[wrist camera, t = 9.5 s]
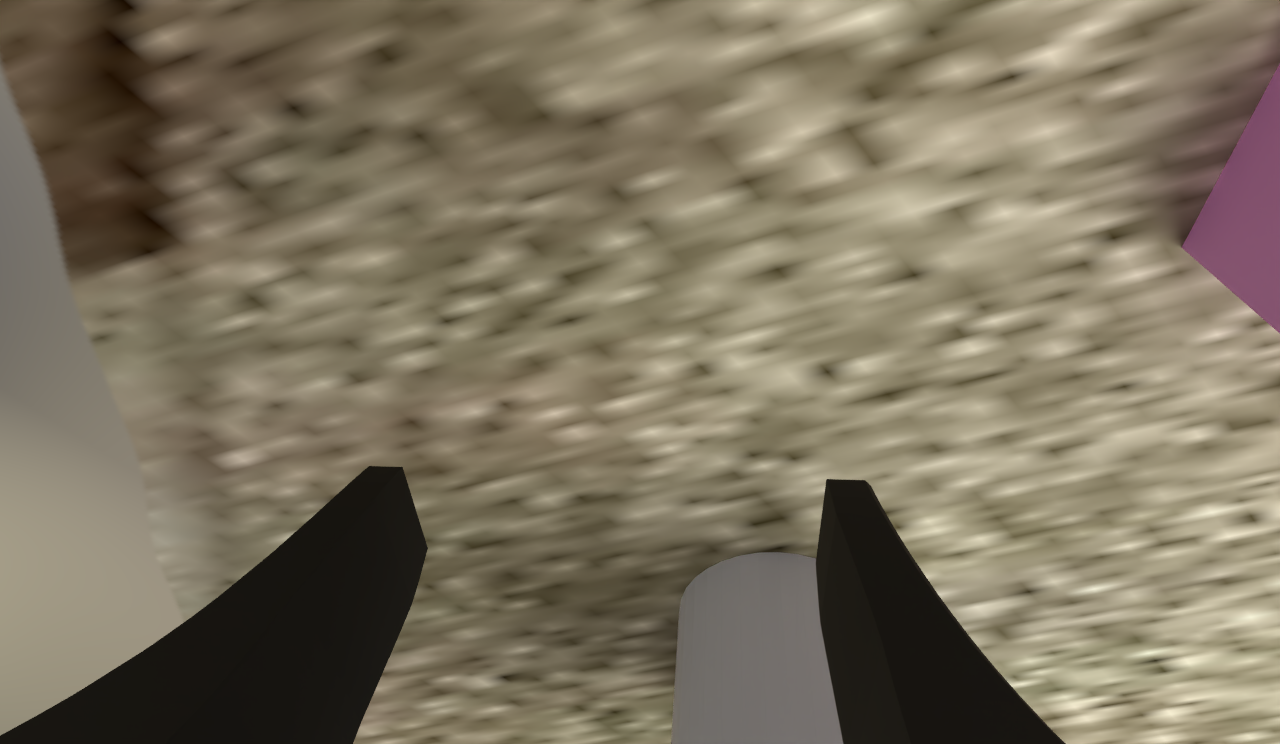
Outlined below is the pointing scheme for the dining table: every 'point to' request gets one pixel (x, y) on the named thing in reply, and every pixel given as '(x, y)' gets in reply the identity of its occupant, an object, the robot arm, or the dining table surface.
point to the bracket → (1247, 214)
